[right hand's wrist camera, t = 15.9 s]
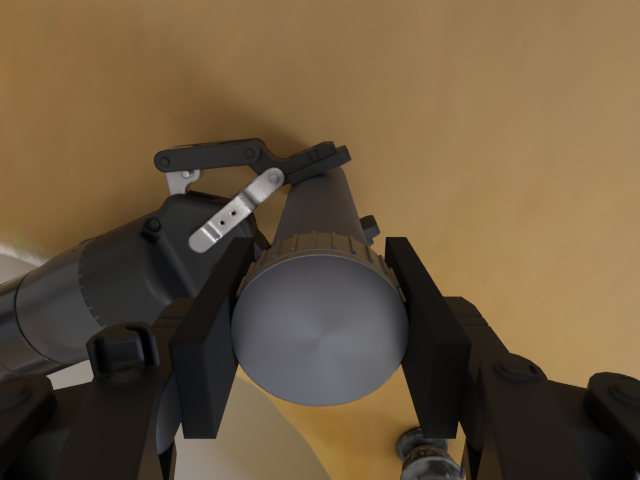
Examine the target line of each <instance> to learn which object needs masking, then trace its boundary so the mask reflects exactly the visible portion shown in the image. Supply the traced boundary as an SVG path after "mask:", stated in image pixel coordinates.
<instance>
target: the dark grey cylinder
mask: <svg viewBox="0 0 640 480" xmlns="http://www.w3.org/2000/svg"><path fill="white" fill-rule="evenodd" d="M313 231H316V233H331V232H335V234H337V235H342V236H346V237H350V236H352V237H353V238H354V240H356V241H358V242H360V243H362V244H364V245H366V244H367V241H366V238H365V235H364V232H363V229H362V226H361V223H360V220H359V217H358V214H357V211H356V208H355V205H354V201H353V198H352V195H351V192H350V189H349V186H348V183H347V180H346V177H345V174H344V172H343V170H342V169H341V167H340V166H338V167H336V168H333V169H331V170H329V171H327V172H324V173H322V174H320V175H317V176H315V177H313V178H310V179H308V180H305V181H303V182H301V183H299V184H297V185H294V186H291V189H290V192H289V195H288V198H287V201H286V204H285V207H284V210H283V213H282V216H281V219H280V222H279V225H278V229H277V232H276V235H275V238H274V241H273V244H272V247H273V246H274V245H276V243H277V241H279V240H280V241H284V240H286V239H288V238H291V237H294V234H298V235H302V234H309V233H312V232H313Z"/></svg>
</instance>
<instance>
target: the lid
mask: <svg viewBox="0 0 640 480" xmlns="http://www.w3.org/2000/svg"><path fill="white" fill-rule="evenodd" d="M235 297H237V301H236V303H235V306H234V309H233V312H232V316H231V322H230V330H231V341H232V347H233V351H234V354H235V356H236V358H237V360H238V362H239V364H240V366H241V367H242V369H243V370H244V372H245V373H246V374H247V375H248V376H249V377H250V379H252V380H253V381H254V382H255V383H256V384H257V385H258V386H259V387H261V388H262V389H264V390H265V391H267V392H268V393H270V394H272V395H274V396H276V397H278V398H280V399H283V400H285V401H289V402H292V403H295V404H301V405H306V406H333V405H340V404H344V403H348V402H351V401H354V400H357V399H360V398H362V397H364V396H366V395H368V394H370V393H372V392H373V391H375V390H376V389H378V388H379V387H380V386H382V385H383V384H384V383H385V382H386V381H387V380H388V379H389V378H390V377H391V376H392V375H393V374H394V373H395V371H396V370H397V369H398V367H399V365H400V364H401V362H402V360H403V358H404V356H405V353H406V351H407V347H408V339H409V328H410V323H409V316H408V312H407V309H406V306H405V304H407V301H406V299H405V296H404V294H403V292H402V289H401V287H400V285H399V282H398V281H397V278H396V276H395V274H394V271H393V269H392V268H390V269H389V268H388V266H387V265H386V263H385V261H384V258H383V256H382V255H379V256H378V255H377V254H376V253H375V252H374V251H373V250H371V249H370V246H369V245H368V244H366V245H364V244H362V243H360V242H358V241H356V240H354V238H353V237H352V236H350V237H346V236H342V235H337V234H335V232H331V233H316V231H313V232H312V233H309V234H302V235H298V234H294V237H291V238H288V239H286V240H284V241H280V240H279V241H277V243H276V245H274V246H273V247H271V248H270V249H269V250H267V251H266V250H263V251H262V254H261V256H260V258H259V259H258V260H257V261H256V262H255V263H253V262H252V263H251V265H250V267H249V269H248V272H247V274H246V277H245V276H244V277H243V279H242V282H241V284H240V286H239V289H238V291H237V293H236V296H235Z"/></svg>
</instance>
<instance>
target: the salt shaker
mask: <svg viewBox="0 0 640 480" xmlns="http://www.w3.org/2000/svg"><path fill="white" fill-rule="evenodd" d="M447 450H448V442H447V439H424V437H423V434H422V430H421V428H418V429H413V430H411V431H409V432H407V433H406V434H404V435H403V436H402V437H401V438H400V439H399V441H398V443H397V448H396V451H397V454H398V456H399V458H400V459H401V460H402V461H403V466H402V474H401V477H400V480H463V478H460V477H459V474H460V467H459V466H458V464H456V463H455V462H454V460H453V459H452V458H451V456H450V455H449V454H448V453H447Z"/></svg>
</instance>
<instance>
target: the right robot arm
mask: <svg viewBox="0 0 640 480" xmlns="http://www.w3.org/2000/svg"><path fill="white" fill-rule="evenodd" d="M384 261H385V263H386V265H387V266H388V268H389V269H390V268H392V269H393V271H394V274H395V276H396V278H397V281H398V282H399V285H400V287H401V289H402V292H403V294H404V296H405V299H406V301H407V304H405V306H406V309H407V312H408V316H409V323H410V328H409V339H408V347H407V351H406V353H405V356H404V358H403V360H402V362H401V365H402V368H403V371H404V375H405V378H406V381H407V385H408V388H409V391H410V394H411V398H412V401H413V404H414V407H415V411H416V414H417V417H418V421H419V424H420V427H421V430H422V434H423V437H424V439H456V433H457V428H458V422H460V424H461V426H462V429H463V431H464V433H465V436H466V440H465V445H464V451H463V456H462V462H461V467H460V474H459V477H460V478H464V476H465V472H466V480H640V381H639V380H637V379H635V378H633V377H630V376H626V375H623V374H618V373H610V372H602V373H595V374H594V375H593V376H592V377H591V378H590V379H589V382H588V385H587V388H582V387H577V386H572V385H568V384H563V383H558V382H554V381H551V380H548V379H547V377H546V375H545V374H544V372H543V371H542V370H541V368H540V367H538V366H537V365H536V364H534V363H533V362H532V361H530V360H528V359H526V358H524V357H522V356H519V355H516V354H512V353H510V352H509V351H508V350H507V348H506V347H505V346H504V344H503V343H502V342H501V340H500V339H499V338H498V336H497V335H496V334H495V332H494V331H493V330H492V328H491V327H490V326H488V323H487V322H486V320H485V319H484V318H482V315H481V314H480V312H479V311H478V310H477V308H476V307H475V306H474V305H473V304H472V303H470V302H469V301H467V300H465V299H464V298H462V297H443V296H442V294H441V293H440V291H439V290H438V288H437V286H436V285H435V283H434V281H433V280H432V278H431V277H430V275H429V273H428V272H427V270H426V269H425V267H424V265H423V264H422V262H421V260H420V259H419V257H418V256H417V254H416V252H415V251H414V249H413V248H412V246H411V244H410V243H409V241H408V240H407V238H406V237H386V245H385V260H384ZM252 262H253V263H255V248H254V237H234V238H233V239H232V241H231V242H230V244H229V246H228V247H227V249H226V250H225V252H224V254H223V255H222V257H221V258H220V260H219V262H218V263H217V265H216V267H215V268H214V270H213V271H212V273H211V275H210V276H209V278H208V279H207V281H206V283H205V284H204V286H203V288H202V289H201V291H200V292H199V294H198V296H197V297H196V298H178V299H176V300H175V301H173V302H172V303H170V304H169V305H167V306H166V307H165V308H164V309H163V311H162V312H161V313H160V315H159V316H158V319H156V320H155V322H154V323H153V324H152V326H151V325H149V324H148V323H143V322H125V323H120V324H116V325H113V326H110V327H108V328H105V329H103V330H101V331H99V332H98V333H96V334H95V335H93V336H92V337H91V338H90V339H89V340H88V341H87V343H86V344H85V345H86V348H87V352H88V356H89V360H90V363H91V367H92V371H93V375H94V378H93V380H92V381H91V382H88V383H84V384H80V385H75V386H71V387H66V388H61V389H57V390H53V387H52V383H51V380H50V379H49V378H48V377H46V376H45V375H40V374H28V375H20V376H17V377H14V378H10V379H7V380H4V381H3V382H1V383H0V480H174V473H175V464H176V455H177V453H176V445H175V440H174V437H175V435H176V432H177V430H178V428H179V425H180V423H182V429H183V435H184V439H215V438H216V436H217V433H218V430H219V426H220V423H221V420H222V417H223V413H224V410H225V407H226V403H227V400H228V397H229V393H230V390H231V387H232V384H233V381H234V377H235V374H236V371H237V367H238V364H239V362H238V360H237V358H236V356H235V354H234V351H233V347H232V341H231V330H230V322H231V316H232V312H233V309H234V306H235V303H236V301H237V297H235V296H236V293H237V291H238V289H239V286H240V284H241V282H242V279H243V277H244V276H245V277H246V274H247V272H248V269H249V267H250V265H251V263H252Z"/></svg>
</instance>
